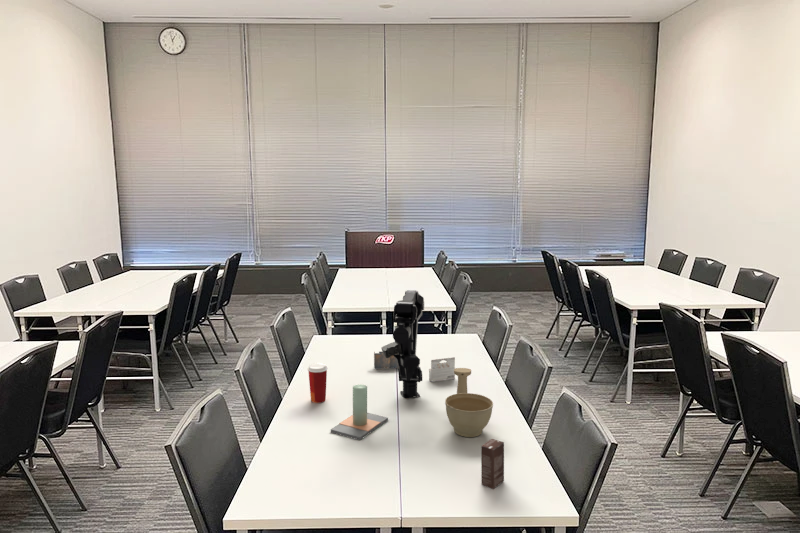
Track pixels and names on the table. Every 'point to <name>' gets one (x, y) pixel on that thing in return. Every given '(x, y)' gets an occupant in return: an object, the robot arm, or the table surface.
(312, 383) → the paper cup
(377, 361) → the architectural model on board
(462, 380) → the handle
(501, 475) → the box
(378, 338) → the table surface
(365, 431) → the grey orange flat block
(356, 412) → the green cylinder
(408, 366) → the robot arm
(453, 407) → the planter bowl
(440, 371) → the ink cartridge box
